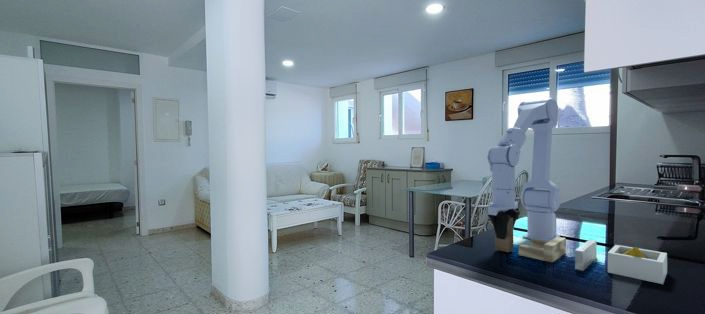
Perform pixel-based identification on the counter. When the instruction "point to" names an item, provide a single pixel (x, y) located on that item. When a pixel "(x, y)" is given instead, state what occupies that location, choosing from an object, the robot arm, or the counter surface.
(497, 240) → the peg
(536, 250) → the cradle
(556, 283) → the counter surface
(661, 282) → the holder
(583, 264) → the rail
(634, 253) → the yellow tapered piece
